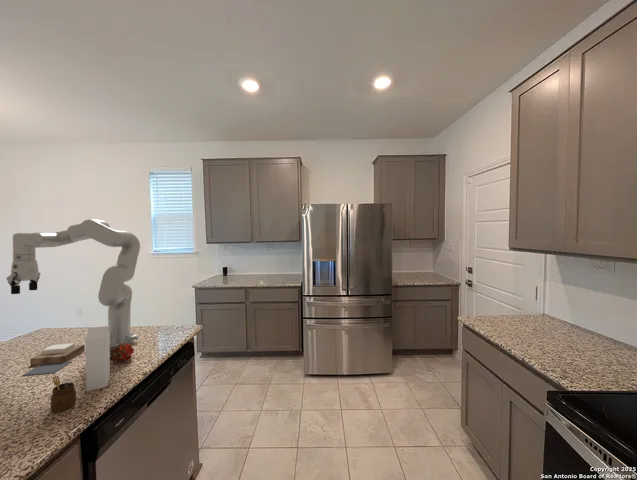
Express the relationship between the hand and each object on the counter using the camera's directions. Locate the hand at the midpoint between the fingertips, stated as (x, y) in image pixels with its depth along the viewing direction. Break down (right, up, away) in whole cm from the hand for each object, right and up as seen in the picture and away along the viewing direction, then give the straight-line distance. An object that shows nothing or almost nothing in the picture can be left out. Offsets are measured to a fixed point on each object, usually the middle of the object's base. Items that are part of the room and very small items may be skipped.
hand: (24, 291), depth 131 cm
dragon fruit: (+57, -30, -11) cm, 65 cm away
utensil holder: (+63, -29, -45) cm, 83 cm away
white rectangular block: (+25, -26, -8) cm, 37 cm away
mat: (+31, -29, -19) cm, 47 cm away
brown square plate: (+25, -29, -8) cm, 40 cm away
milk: (+63, -29, -32) cm, 76 cm away
